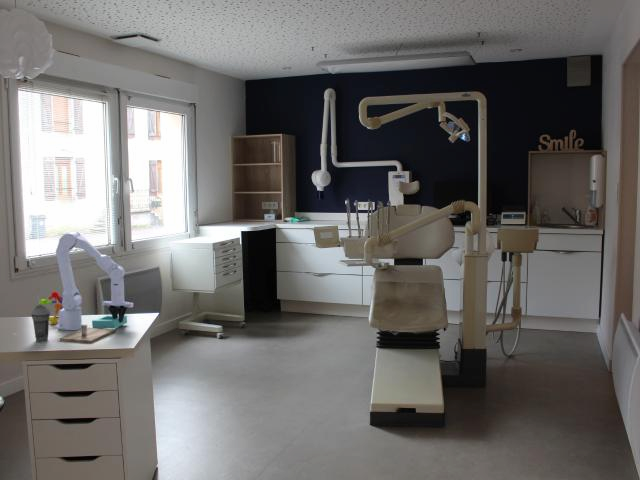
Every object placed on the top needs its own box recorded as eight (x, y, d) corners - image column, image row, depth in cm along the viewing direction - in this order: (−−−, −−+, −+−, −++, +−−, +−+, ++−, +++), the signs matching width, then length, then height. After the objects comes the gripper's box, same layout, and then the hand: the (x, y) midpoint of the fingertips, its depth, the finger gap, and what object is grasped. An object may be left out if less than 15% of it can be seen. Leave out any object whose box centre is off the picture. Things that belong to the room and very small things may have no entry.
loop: (92, 328, 289) (92, 320, 289) (106, 322, 300) (105, 315, 300) (114, 328, 287) (113, 320, 286) (127, 322, 297) (126, 315, 297)
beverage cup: (39, 344, 265) (37, 296, 263) (28, 341, 269) (26, 294, 267) (54, 340, 271) (52, 293, 269) (44, 337, 275) (42, 292, 273)
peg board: (59, 341, 270) (59, 327, 269) (86, 330, 288) (85, 317, 287) (91, 343, 266) (90, 330, 266) (115, 332, 285) (115, 319, 284)
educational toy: (77, 321, 308) (78, 291, 305) (56, 328, 296) (57, 296, 294) (54, 315, 314) (55, 286, 312) (32, 321, 302) (33, 290, 300)
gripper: (98, 293, 289) (99, 322, 290) (127, 295, 285) (128, 325, 287) (107, 290, 295) (108, 319, 297) (135, 292, 292) (136, 321, 293)
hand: (118, 321), depth 292 cm, fingers closed on loop, 2 cm apart
